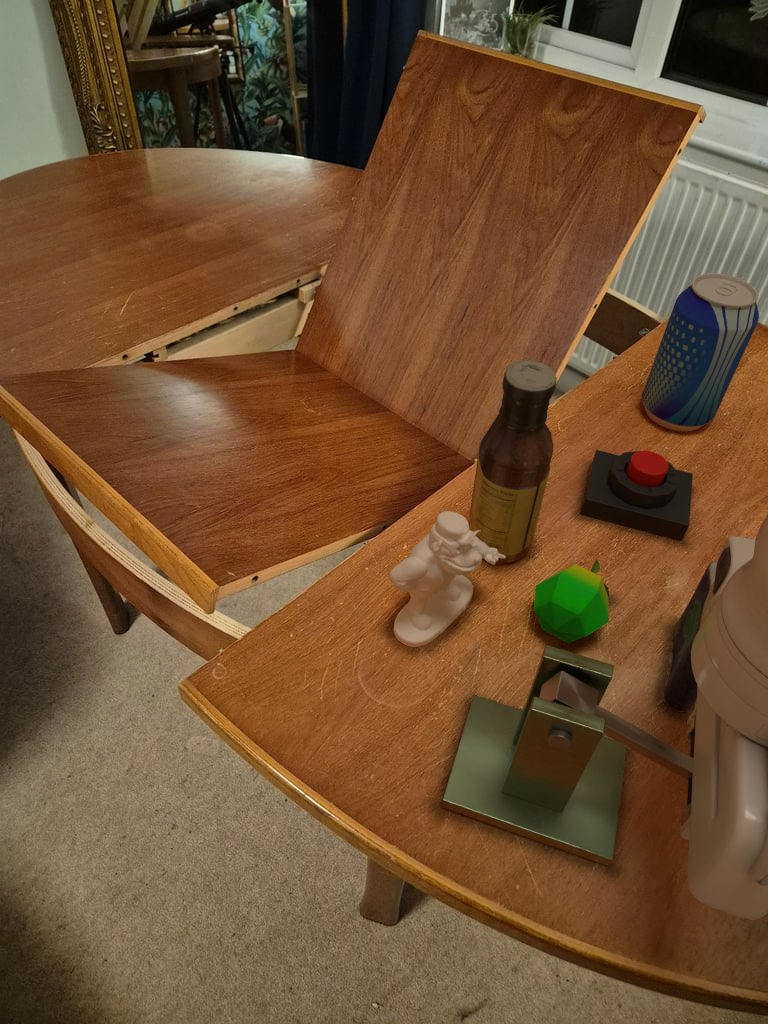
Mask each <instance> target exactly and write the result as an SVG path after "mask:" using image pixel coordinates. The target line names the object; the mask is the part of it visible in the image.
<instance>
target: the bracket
mask: <svg viewBox="0 0 768 1024" xmlns="http://www.w3.org/2000/svg"><path fill="white" fill-rule="evenodd" d="M614 667H615V665H614V664H611V663H608V662H605V661H602V660H598V659H595V658H593V657H588V656H584V655H581V654H579V653H575V652H571V651H569V650H565V649H562V648H558V647H555V646H551V645H548V644H546V645H545V646H544V649H543V652H542V655H541V657H540V660H539V663H538V666H537V669H536V672H535V674H534V678H533V679H532V680H533V681H532V684H531V686H530V689H529V691H528V695H527V698H526V701H525V702H524V703H525V704H524V707H523V709H519V708H516V707H513V706H510V705H507V704H504V703H500V702H497V701H495V700H492V699H489V698H485V697H483V696H479V695H476V694H473V695H472V698H471V702H470V705H469V710H468V712H467V716H466V718H465V722H464V726H463V729H462V732H461V736H460V739H459V742H458V745H457V749H456V751H455V756H454V758H453V762H452V766H451V769H450V771H449V776H448V780H447V783H446V786H445V789H444V793H443V796H442V799H441V802H440V803H441V804H440V807H441V808H443V809H446V810H449V811H451V812H453V813H457V814H460V815H463V816H466V817H469V818H471V819H474V820H477V821H480V822H482V823H484V824H487V825H491V826H494V827H497V828H499V829H501V830H505V831H507V832H510V833H514V834H516V835H519V836H522V837H525V838H528V839H530V840H533V841H535V842H539V843H542V844H544V845H547V846H550V847H552V848H555V849H558V850H561V851H564V852H567V853H569V854H572V855H575V856H578V857H580V858H583V859H586V860H589V861H592V862H595V863H598V864H600V865H603V866H605V867H609V866H610V865H611V864H612V862H613V861H614V857H615V856H614V855H615V848H616V839H617V832H618V831H617V830H618V822H619V815H620V806H621V798H622V789H623V782H624V775H625V765H626V759H627V749H628V747H626V746H624V745H622V744H620V743H619V742H617V741H615V740H613V739H611V738H609V737H607V736H604V734H603V733H604V729H605V723H606V719H605V718H602V717H599V716H595V715H592V714H589V713H586V712H583V711H580V710H576V709H573V708H570V707H567V706H564V705H561V704H558V703H554V702H551V701H548V700H545V699H542V698H539V697H540V693H541V688H542V685H543V684H544V683H545V682H547V681H548V680H549V679H551V678H552V677H553V676H555V675H556V674H557V673H558V672H560V671H561V670H562V671H564V672H566V673H568V674H569V675H571V676H573V677H575V678H577V679H579V680H580V681H582V682H584V683H586V684H588V685H589V686H591V687H593V688H595V689H597V690H598V691H599V692H598V698H597V704H596V705H598V706H600V705H601V701H602V700H603V697H604V695H605V693H606V691H607V689H608V687H609V685H610V683H611V681H612V679H613V676H614V669H615V668H614Z"/></svg>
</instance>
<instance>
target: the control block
mask: <svg viewBox="0 0 768 1024" xmlns="http://www.w3.org/2000/svg"><path fill="white" fill-rule="evenodd" d="M638 451H639V450H634V451H625V452H622V453H621V454H616V453H611V452H607V451H603V450H599V449H596V450H595V451H594V454H593V457H592V458H593V459H592V462H591V463H590V468H589V472H588V478H587V480H586V487H585V491H584V495H583V500H582V503H581V508H580V515H581V516H586V517H590V518H594V519H598V520H602V521H604V522H605V521H606V522H608V523H613V524H616V525H620V526H624V527H628V528H632V529H635V530H639V531H643V532H647V533H650V534H654V535H658V536H662V537H665V538H669V539H674V540H677V541H681V542H682V541H683V539H684V537H685V535H686V533H687V531H688V529H689V527H690V520H691V519H690V517H691V506H692V494H693V493H692V492H693V479H694V473H692V472H689V471H684V470H680V469H676V468H675V467H674V465H673V464H672V463H671V462H669V460H666V461H667V463H668V470H667V472H666V475H665V477H664V479H663V482H662V483H661V484H660V485H659V486H657V487H650V488H649V487H645V486H641V485H638V484H636V483H635V482H633V481H632V480H630V479H629V478H628V476H627V473H626V470H627V467H628V465H629V462H630V459H631V457H632V455H633V454H634V453H636V452H638Z"/></svg>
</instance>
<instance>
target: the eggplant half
mask: <svg viewBox="0 0 768 1024" xmlns="http://www.w3.org/2000/svg"><path fill="white" fill-rule="evenodd" d="M717 562H718V560H715V561H710V563H708V565H707V566H706V569H705V570H704V573H703V575H702V576H701V579H700V580H699V582H698V584H697V586H696V588H695V590H694V593H693V594H692V595H691V598H690V600H689V602H688V603H687V604H686V605H687V606H686V607H685V609H684V610H683V612H682V614H680V617H679V620H678V621H677V622H676V624H675V625H674V629H673V633H672V635H671V640H672V642H673V643H672V648H671V650H669V655H668V664H669V667H670V669H669V671H667V672H666V674H667V677H668V678H667V680H666V682H664V688H663V692H662V694H661V695H662V696H661V697H662V699H663V701H664V702H665V704H666V705H667V708H668V709H671V710H673V711H676V712H678V713H687V712H689V711H690V710H691V709H692V707H693V706H694V705H695V704H696V700H697V687H698V684H697V682H696V680H695V677H694V674H693V670H692V665H691V649H692V644H693V641H694V639H695V637H696V635H697V633H698V631H699V629H700V627H701V617H702V612H703V608H704V604H705V601H706V598H707V596H708V594H709V591H710V589H711V587H712V584H713V582H714V580H715V574H716V566H717Z"/></svg>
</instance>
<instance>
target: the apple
mask: <svg viewBox="0 0 768 1024" xmlns="http://www.w3.org/2000/svg"><path fill="white" fill-rule="evenodd" d="M601 570H602V569H601V566H600V563H599V561H598V559H596V560H595V562H594V563H593V565H592V567H591V569H590V570H588V569H587V568H585V567H582V566H580V565H578V564H576V563H574V564H573V565H570V566H568V567H567V568H566V567H565V568H564V569H562V570H560V571H558V572H556V573H555V574H553V575H551V576H549V577H548V578H546V579H545V580H544V579H543V580H542V581H541V582H539V583H537V584H535V591H534V602H533V611H534V613H535V615H536V618H537V620H538V623H539V625H540V627H541V630H542V631H544V632H546V633H547V634H550V635H552V636H553V637H555V638H557V639H559V640H561V641H562V642H565V643H566V644H570V643H571V642H575V641H579V640H580V639H583V638H586V637H588V636H589V635H591V634H592V633H594V632H595V631H597V630H599V629H600V628H602V627H603V626H605V625H607V624H608V623H609V622H610V619H609V615H610V613H609V612H610V611H609V610H610V609H609V603H610V602H609V600H611V597H610V589H609V587H608V586H607V585H606V584H605V582H604V580H603V578H602V576H601V575H599V574H598V572H600V571H601Z"/></svg>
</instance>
